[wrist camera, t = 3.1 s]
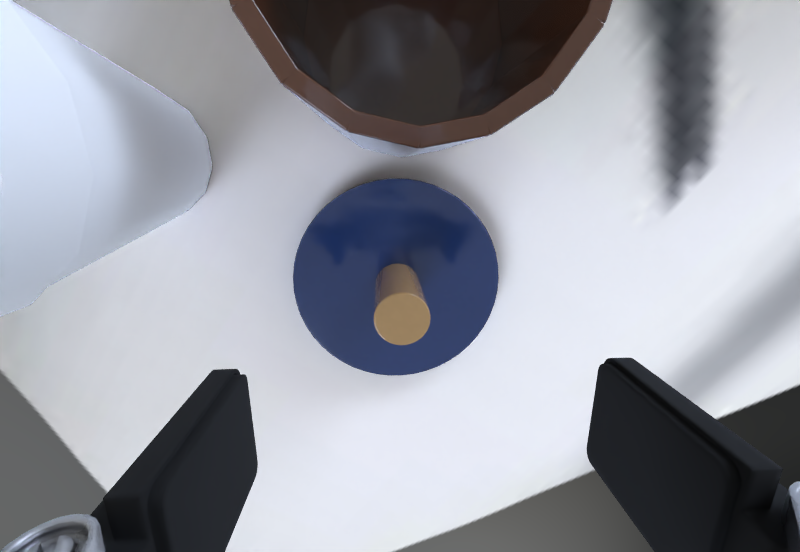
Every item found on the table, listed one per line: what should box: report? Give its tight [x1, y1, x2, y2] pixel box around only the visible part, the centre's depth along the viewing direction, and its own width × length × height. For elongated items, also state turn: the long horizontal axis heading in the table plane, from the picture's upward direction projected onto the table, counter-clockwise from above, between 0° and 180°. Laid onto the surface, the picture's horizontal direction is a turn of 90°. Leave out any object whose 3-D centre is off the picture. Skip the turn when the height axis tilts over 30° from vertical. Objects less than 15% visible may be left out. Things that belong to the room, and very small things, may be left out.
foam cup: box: [0, 0, 213, 317], centre depth 13 cm, size 10×9×13 cm
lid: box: [293, 178, 498, 375], centre depth 19 cm, size 11×11×6 cm
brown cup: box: [229, 0, 612, 157], centre depth 14 cm, size 10×10×10 cm
